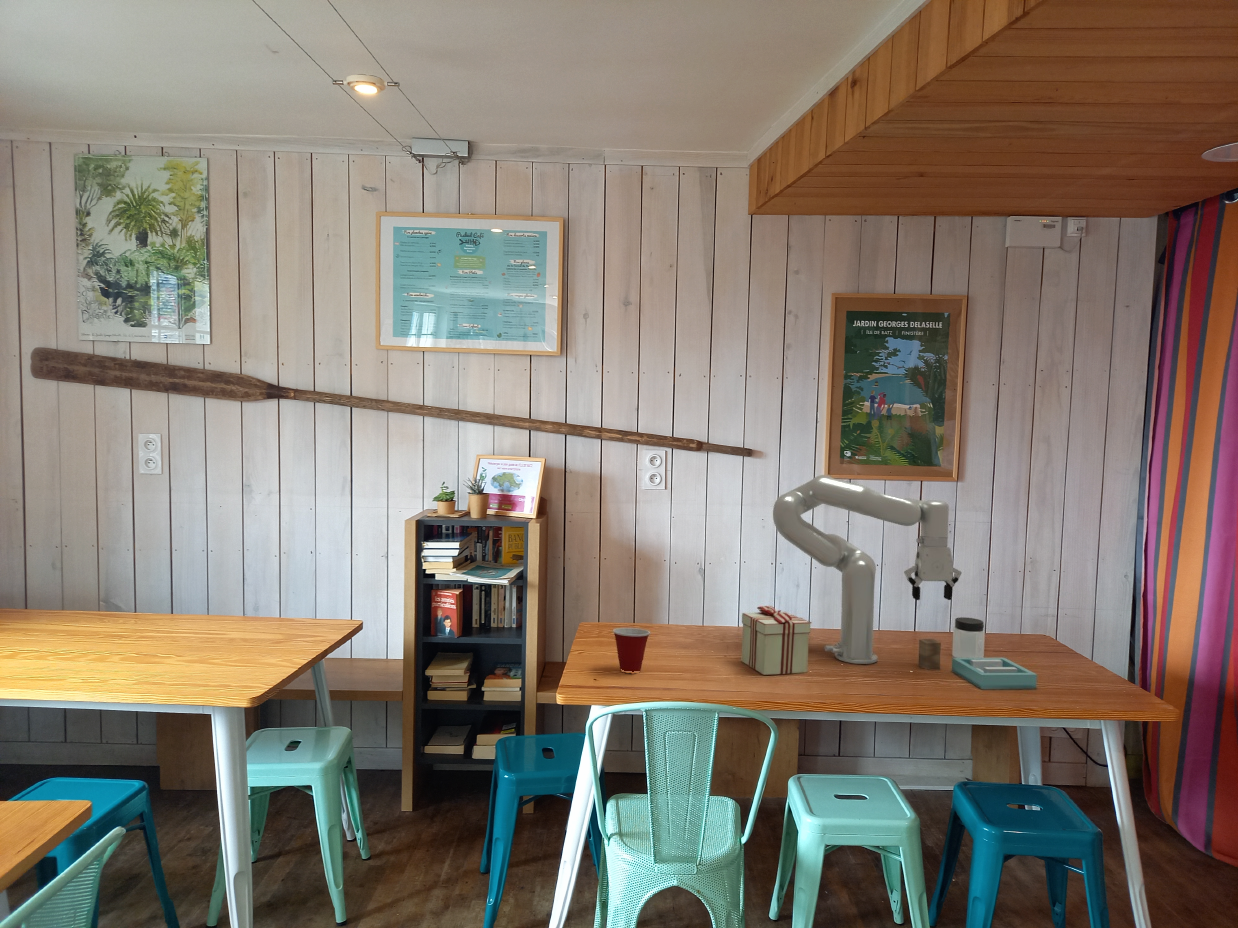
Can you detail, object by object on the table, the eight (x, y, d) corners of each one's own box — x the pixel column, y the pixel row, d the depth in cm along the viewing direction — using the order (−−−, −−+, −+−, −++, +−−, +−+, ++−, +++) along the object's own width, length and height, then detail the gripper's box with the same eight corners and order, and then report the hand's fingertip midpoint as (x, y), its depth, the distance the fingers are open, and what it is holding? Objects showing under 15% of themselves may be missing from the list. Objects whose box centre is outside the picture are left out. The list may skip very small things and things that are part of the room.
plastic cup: (655, 668, 228) (656, 627, 228) (640, 678, 219) (641, 636, 218) (621, 663, 233) (622, 623, 232) (605, 673, 223) (606, 631, 223)
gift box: (819, 671, 229) (821, 612, 228) (766, 677, 222) (767, 617, 221) (785, 655, 245) (787, 600, 244) (734, 661, 238) (736, 604, 237)
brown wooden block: (925, 669, 232) (926, 642, 232) (918, 665, 237) (919, 638, 237) (939, 669, 233) (940, 642, 232) (932, 664, 237) (933, 638, 237)
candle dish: (980, 689, 215) (981, 672, 215) (951, 671, 231) (952, 656, 231) (1036, 688, 217) (1037, 672, 216) (1003, 670, 233) (1004, 655, 232)
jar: (971, 663, 239) (973, 624, 239) (947, 656, 246) (949, 619, 246) (988, 659, 244) (990, 621, 244) (964, 652, 251) (965, 615, 250)
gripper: (911, 543, 229) (909, 602, 230) (968, 544, 230) (966, 601, 231) (900, 540, 236) (898, 596, 237) (955, 540, 238) (953, 596, 239)
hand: (931, 599), depth 234 cm, fingers open, 9 cm apart
